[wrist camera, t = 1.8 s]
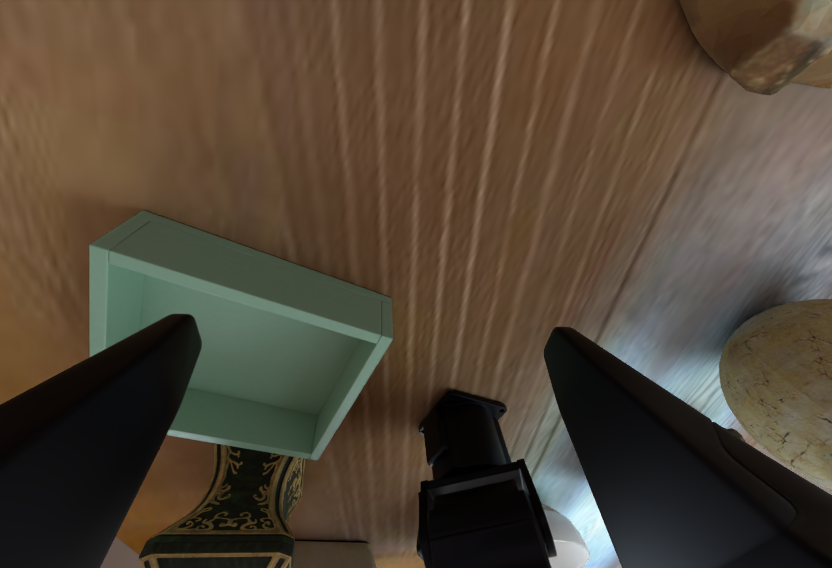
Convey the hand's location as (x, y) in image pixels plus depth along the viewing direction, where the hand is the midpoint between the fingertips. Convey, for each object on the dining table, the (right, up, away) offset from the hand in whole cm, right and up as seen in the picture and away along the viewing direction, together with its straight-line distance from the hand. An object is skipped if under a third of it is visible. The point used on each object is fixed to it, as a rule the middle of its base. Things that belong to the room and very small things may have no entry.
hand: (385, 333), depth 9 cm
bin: (-11, -3, +16) cm, 20 cm away
